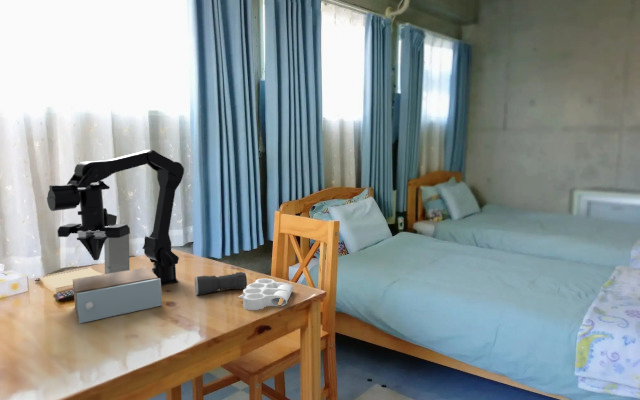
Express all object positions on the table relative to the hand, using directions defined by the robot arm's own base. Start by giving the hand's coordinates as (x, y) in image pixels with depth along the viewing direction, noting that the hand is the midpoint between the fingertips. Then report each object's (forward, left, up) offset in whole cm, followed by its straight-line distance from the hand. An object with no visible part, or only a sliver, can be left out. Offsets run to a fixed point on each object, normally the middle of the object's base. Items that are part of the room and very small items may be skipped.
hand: (96, 259), depth 125 cm
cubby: (-4, +8, -12) cm, 15 cm away
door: (-4, +16, -12) cm, 20 cm away
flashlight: (-32, +13, -12) cm, 37 cm away
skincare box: (-8, -20, -12) cm, 25 cm away
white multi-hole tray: (-40, +26, -13) cm, 50 cm away
